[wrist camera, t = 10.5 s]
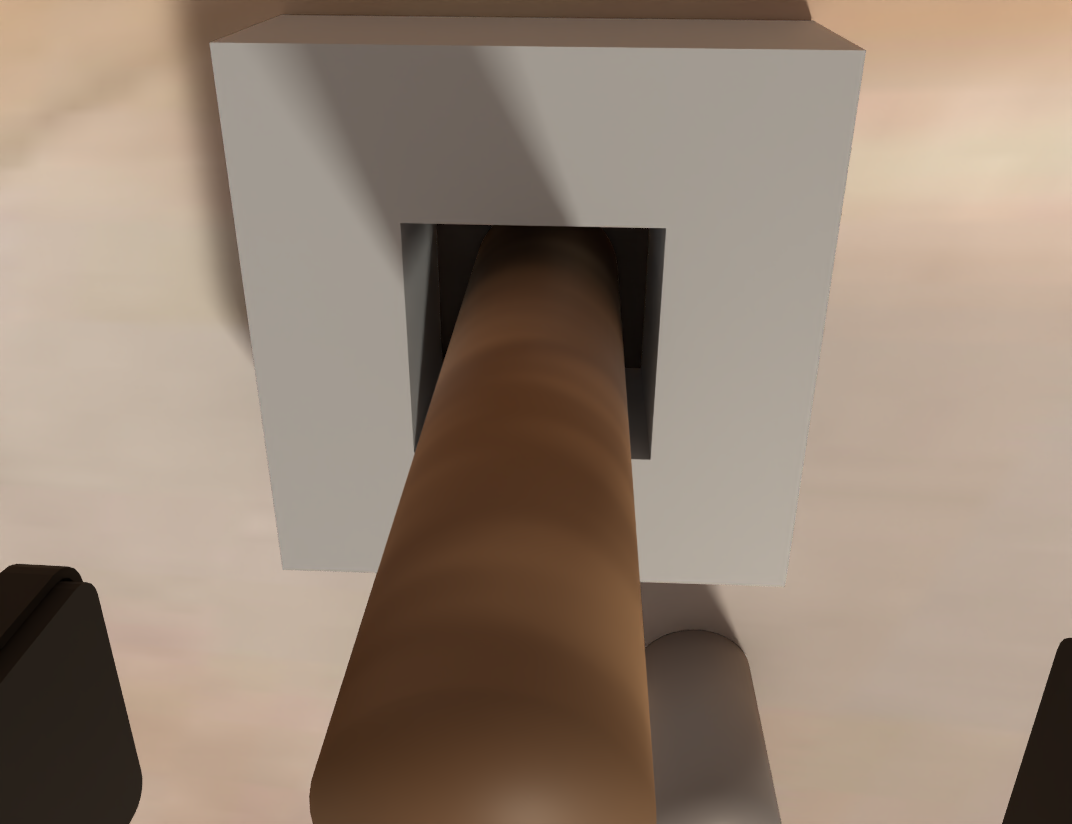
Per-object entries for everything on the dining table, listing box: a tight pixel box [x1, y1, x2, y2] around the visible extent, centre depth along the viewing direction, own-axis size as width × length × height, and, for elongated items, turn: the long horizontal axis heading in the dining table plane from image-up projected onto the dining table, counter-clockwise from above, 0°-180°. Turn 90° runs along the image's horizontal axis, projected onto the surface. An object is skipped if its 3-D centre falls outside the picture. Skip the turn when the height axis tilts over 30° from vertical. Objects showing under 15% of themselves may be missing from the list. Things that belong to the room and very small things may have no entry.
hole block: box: [209, 15, 866, 587], centre depth 19 cm, size 10×10×4 cm
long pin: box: [309, 225, 656, 824], centre depth 15 cm, size 3×3×14 cm
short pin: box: [645, 630, 781, 824], centre depth 24 cm, size 3×3×5 cm
